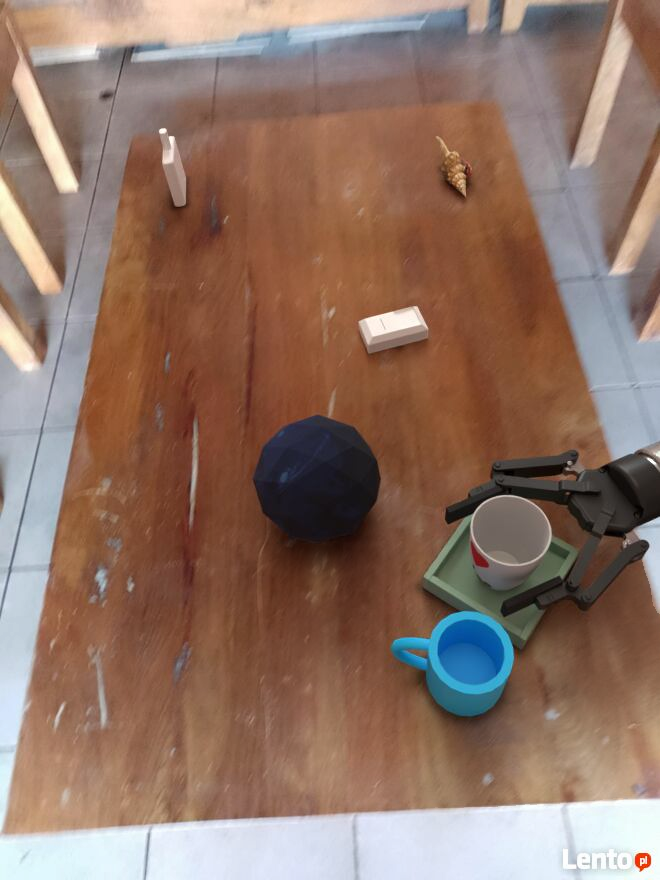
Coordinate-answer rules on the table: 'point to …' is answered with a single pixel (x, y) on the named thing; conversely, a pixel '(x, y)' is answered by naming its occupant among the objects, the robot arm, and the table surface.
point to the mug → (462, 661)
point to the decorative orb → (317, 479)
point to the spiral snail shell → (455, 168)
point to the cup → (508, 541)
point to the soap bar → (393, 329)
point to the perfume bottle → (173, 168)
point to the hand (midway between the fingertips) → (473, 560)
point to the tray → (467, 593)
